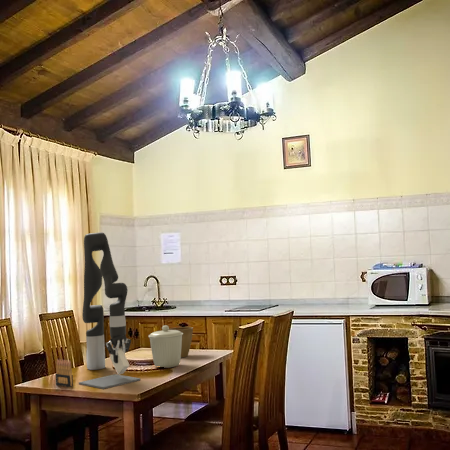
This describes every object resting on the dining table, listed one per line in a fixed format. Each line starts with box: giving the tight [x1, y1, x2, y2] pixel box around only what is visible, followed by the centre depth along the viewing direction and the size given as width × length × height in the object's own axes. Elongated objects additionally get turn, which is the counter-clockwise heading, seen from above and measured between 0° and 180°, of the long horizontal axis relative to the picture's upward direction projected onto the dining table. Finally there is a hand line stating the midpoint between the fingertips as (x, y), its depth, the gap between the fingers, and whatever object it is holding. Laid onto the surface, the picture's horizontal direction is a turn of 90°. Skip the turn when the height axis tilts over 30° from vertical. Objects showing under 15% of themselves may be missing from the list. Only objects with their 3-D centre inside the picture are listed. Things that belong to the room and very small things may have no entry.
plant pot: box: [169, 326, 194, 358], centre depth 314 cm, size 15×15×16 cm
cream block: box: [108, 347, 130, 375], centre depth 259 cm, size 3×7×11 cm
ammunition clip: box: [55, 358, 74, 388], centre depth 252 cm, size 11×2×12 cm, turn 52°
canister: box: [148, 324, 183, 369], centre depth 286 cm, size 18×18×21 cm
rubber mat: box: [78, 373, 141, 390], centre depth 254 cm, size 20×20×1 cm
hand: (119, 362), depth 258 cm, fingers closed on cream block, 3 cm apart
